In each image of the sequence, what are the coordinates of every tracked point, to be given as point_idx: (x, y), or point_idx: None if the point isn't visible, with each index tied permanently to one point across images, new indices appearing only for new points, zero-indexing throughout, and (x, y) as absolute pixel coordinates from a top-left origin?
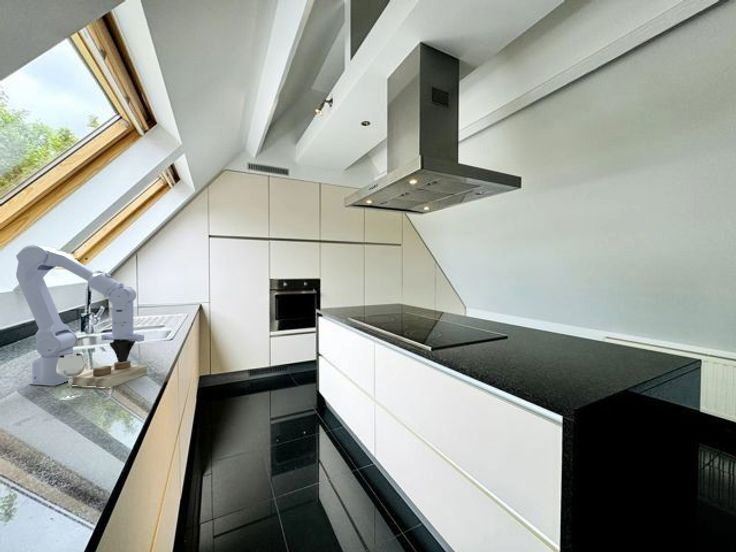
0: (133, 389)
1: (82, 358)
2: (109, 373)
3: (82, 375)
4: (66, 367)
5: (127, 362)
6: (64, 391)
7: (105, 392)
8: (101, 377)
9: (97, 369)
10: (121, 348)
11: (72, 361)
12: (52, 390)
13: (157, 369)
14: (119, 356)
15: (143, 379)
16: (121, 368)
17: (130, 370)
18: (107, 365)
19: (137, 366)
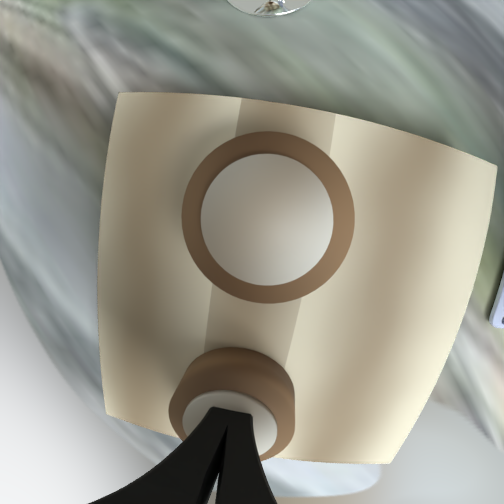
0: (29, 126)
1: None
2: None
3: (426, 185)
4: None
5: (176, 412)
6: (403, 70)
7: (127, 59)
8: (202, 120)
9: (272, 151)
10: (111, 499)
11: None
12: (480, 102)
13: (141, 442)
14: (212, 445)
15: (74, 285)
16: (205, 355)
17: (112, 314)
18: (249, 280)
19: (145, 405)
